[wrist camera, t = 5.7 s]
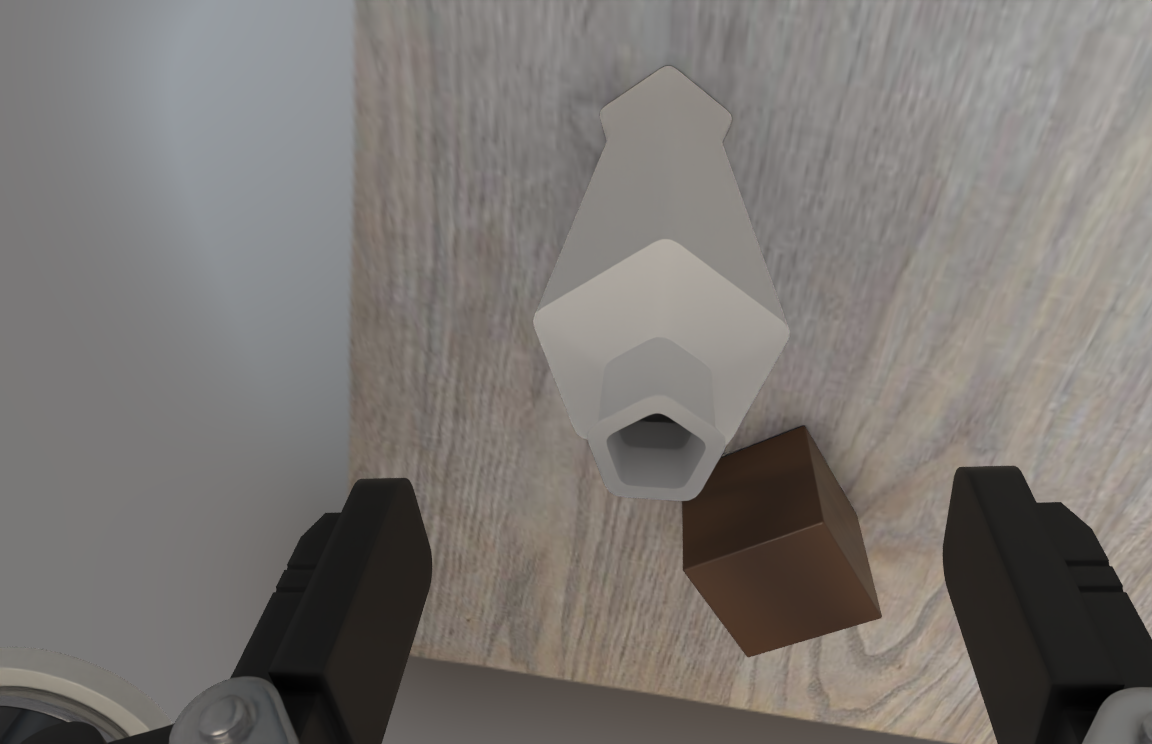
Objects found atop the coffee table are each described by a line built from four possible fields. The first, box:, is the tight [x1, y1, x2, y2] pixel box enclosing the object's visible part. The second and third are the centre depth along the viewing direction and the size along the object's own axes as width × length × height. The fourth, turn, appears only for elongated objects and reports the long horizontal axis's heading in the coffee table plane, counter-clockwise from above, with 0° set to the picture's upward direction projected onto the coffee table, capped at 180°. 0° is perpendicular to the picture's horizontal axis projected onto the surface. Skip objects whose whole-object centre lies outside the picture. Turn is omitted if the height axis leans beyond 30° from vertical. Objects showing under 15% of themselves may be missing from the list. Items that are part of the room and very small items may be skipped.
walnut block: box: [682, 426, 882, 657], centre depth 31 cm, size 5×5×5 cm
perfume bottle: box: [533, 66, 790, 501], centre depth 20 cm, size 5×4×15 cm
